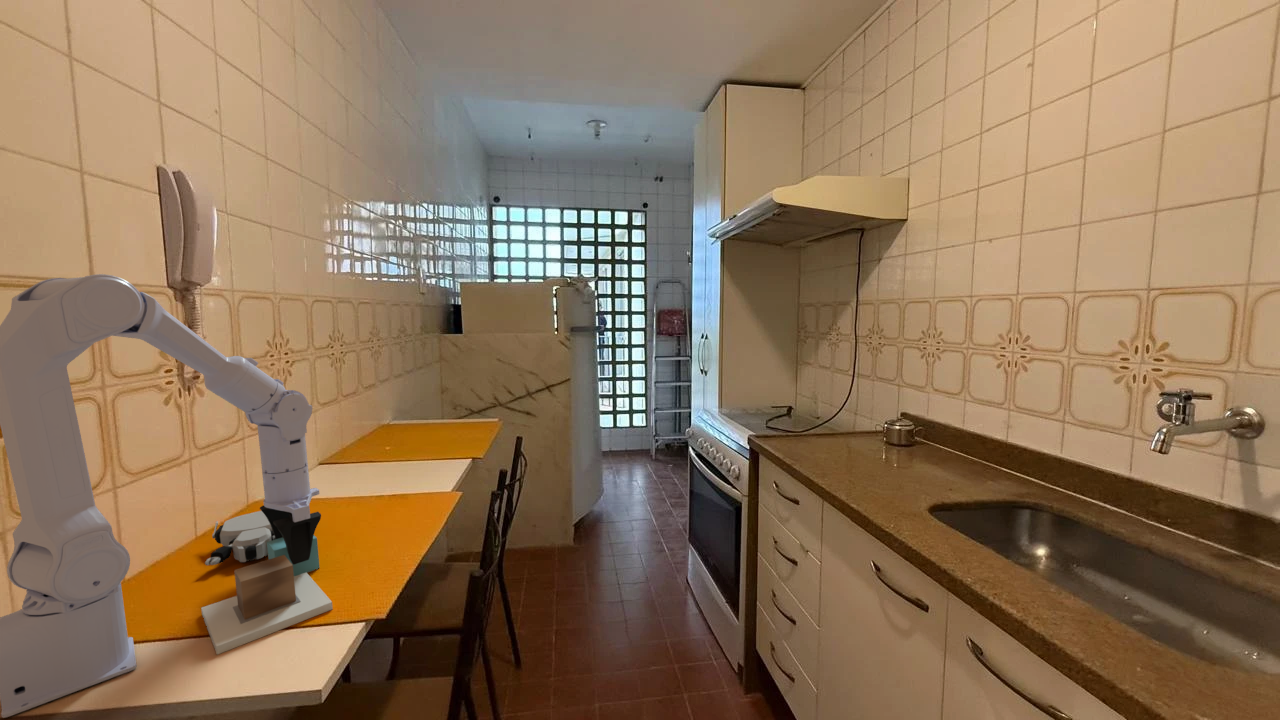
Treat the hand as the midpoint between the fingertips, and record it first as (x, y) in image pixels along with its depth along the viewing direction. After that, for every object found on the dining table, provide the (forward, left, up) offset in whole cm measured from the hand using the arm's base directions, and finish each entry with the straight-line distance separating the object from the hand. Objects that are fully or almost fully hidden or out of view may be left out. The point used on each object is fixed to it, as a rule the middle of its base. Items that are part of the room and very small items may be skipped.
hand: (293, 553), depth 79 cm
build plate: (-6, -11, -3) cm, 12 cm away
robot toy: (-2, +14, -3) cm, 15 cm away
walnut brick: (-6, -10, -2) cm, 12 cm away
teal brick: (0, 0, -3) cm, 3 cm away
